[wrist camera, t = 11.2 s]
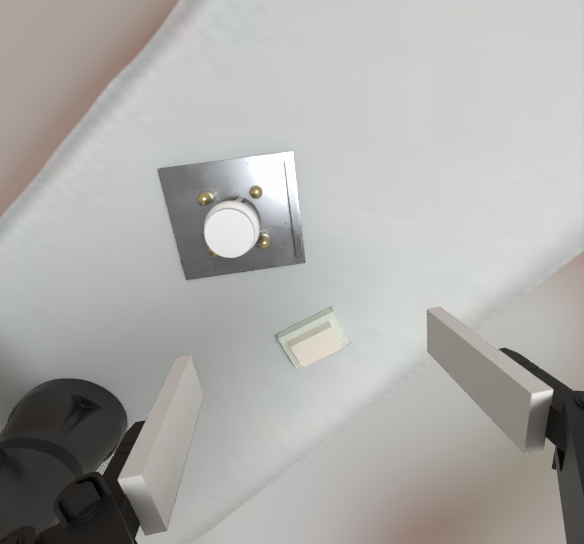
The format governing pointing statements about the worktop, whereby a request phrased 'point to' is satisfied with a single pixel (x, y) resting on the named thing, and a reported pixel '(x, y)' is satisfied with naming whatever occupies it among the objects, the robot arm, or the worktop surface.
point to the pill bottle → (232, 227)
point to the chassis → (235, 183)
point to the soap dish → (306, 327)
